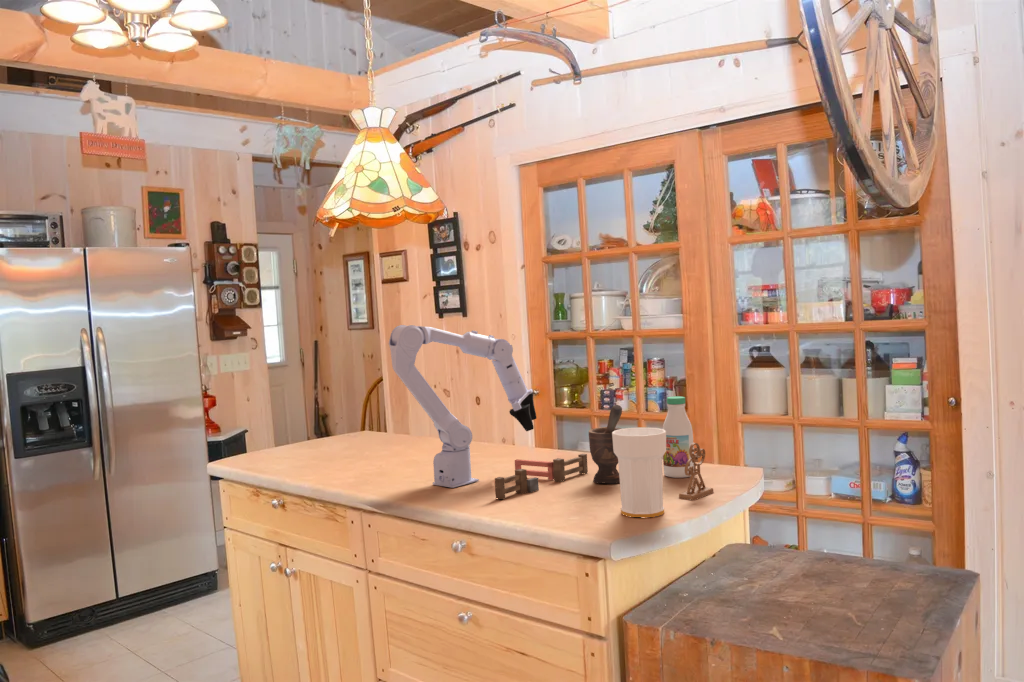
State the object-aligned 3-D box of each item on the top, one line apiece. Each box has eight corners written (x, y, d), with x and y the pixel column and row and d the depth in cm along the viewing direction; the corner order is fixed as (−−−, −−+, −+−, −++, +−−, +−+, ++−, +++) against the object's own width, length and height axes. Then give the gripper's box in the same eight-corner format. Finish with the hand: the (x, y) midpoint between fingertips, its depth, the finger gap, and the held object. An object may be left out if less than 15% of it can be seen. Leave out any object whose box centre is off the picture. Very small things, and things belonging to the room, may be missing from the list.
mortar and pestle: (641, 482, 198) (638, 402, 197) (618, 489, 192) (614, 406, 191) (607, 476, 207) (603, 399, 206) (583, 482, 201) (580, 403, 200)
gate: (554, 478, 206) (553, 461, 206) (552, 479, 205) (551, 462, 205) (517, 475, 212) (517, 459, 212) (515, 476, 211) (514, 460, 211)
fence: (504, 500, 187) (503, 477, 186) (495, 499, 189) (493, 476, 188) (591, 473, 211) (590, 452, 211) (582, 472, 213) (581, 451, 213)
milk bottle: (672, 470, 209) (669, 394, 208) (700, 473, 204) (696, 395, 203) (658, 476, 203) (654, 398, 202) (686, 479, 198) (682, 399, 197)
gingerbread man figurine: (693, 500, 178) (691, 447, 177) (678, 498, 181) (676, 445, 180) (714, 492, 184) (712, 440, 184) (699, 490, 187) (697, 439, 186)
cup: (642, 523, 162) (638, 437, 161) (604, 513, 171) (600, 432, 170) (681, 512, 169) (677, 430, 168) (642, 503, 178) (638, 425, 177)
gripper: (522, 383, 206) (542, 429, 209) (528, 366, 220) (547, 410, 223) (497, 392, 208) (518, 438, 210) (505, 375, 222) (524, 418, 224)
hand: (531, 424), depth 217 cm, fingers open, 7 cm apart
